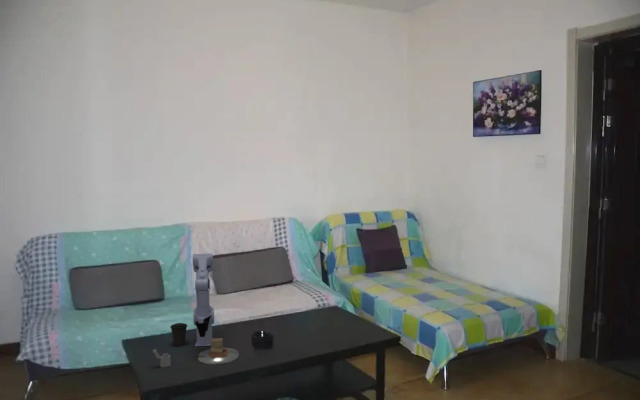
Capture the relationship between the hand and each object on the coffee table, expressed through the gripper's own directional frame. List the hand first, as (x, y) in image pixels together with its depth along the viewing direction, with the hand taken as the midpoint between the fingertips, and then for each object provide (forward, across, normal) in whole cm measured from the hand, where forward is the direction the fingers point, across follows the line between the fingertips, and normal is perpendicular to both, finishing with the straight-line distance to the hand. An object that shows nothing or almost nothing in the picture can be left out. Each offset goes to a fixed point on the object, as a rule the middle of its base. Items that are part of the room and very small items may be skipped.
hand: (203, 333), depth 233 cm
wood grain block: (+8, +4, +6) cm, 11 cm away
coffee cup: (+10, -14, -14) cm, 22 cm away
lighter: (+10, +13, -16) cm, 23 cm away
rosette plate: (+9, +4, +7) cm, 12 cm away
